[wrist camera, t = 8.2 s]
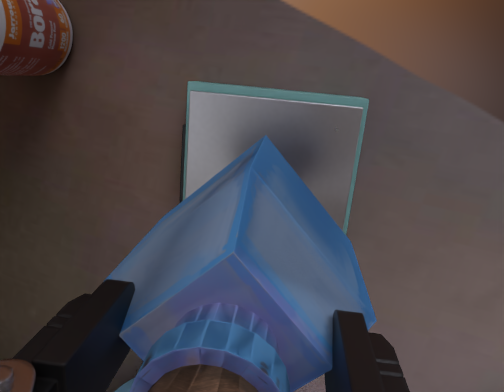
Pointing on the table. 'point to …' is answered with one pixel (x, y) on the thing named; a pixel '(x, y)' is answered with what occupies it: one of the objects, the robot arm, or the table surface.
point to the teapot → (125, 386)
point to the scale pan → (276, 141)
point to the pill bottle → (33, 37)
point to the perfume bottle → (240, 284)
